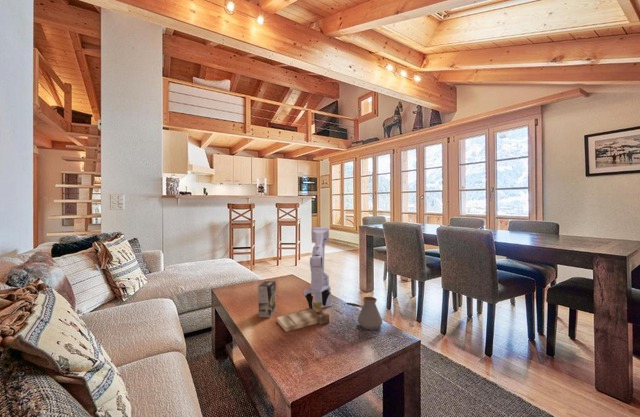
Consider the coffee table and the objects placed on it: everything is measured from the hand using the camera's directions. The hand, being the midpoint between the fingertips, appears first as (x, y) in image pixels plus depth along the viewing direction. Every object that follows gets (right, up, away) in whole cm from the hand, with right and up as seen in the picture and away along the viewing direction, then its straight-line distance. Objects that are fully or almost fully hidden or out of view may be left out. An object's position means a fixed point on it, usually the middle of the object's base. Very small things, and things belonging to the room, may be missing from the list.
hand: (317, 306), depth 135 cm
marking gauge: (0, -6, 0) cm, 6 cm away
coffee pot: (+21, -6, -12) cm, 25 cm away
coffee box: (-26, -6, +6) cm, 28 cm away
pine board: (-7, -6, -3) cm, 10 cm away
